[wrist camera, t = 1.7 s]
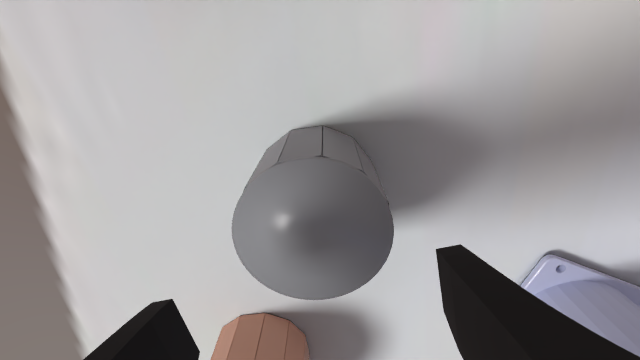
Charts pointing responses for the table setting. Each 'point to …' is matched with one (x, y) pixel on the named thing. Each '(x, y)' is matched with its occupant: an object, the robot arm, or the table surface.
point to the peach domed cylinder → (261, 339)
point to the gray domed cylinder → (313, 216)
